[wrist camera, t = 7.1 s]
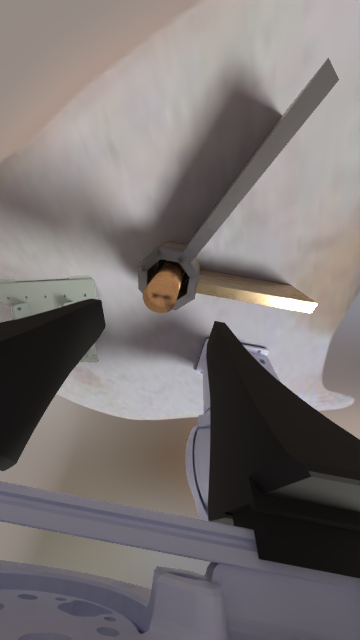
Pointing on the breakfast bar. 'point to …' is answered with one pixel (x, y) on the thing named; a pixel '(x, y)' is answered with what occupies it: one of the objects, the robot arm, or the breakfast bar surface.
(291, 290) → the hinge
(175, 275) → the hinge pin
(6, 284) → the metal bracket
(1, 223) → the breakfast bar surface
